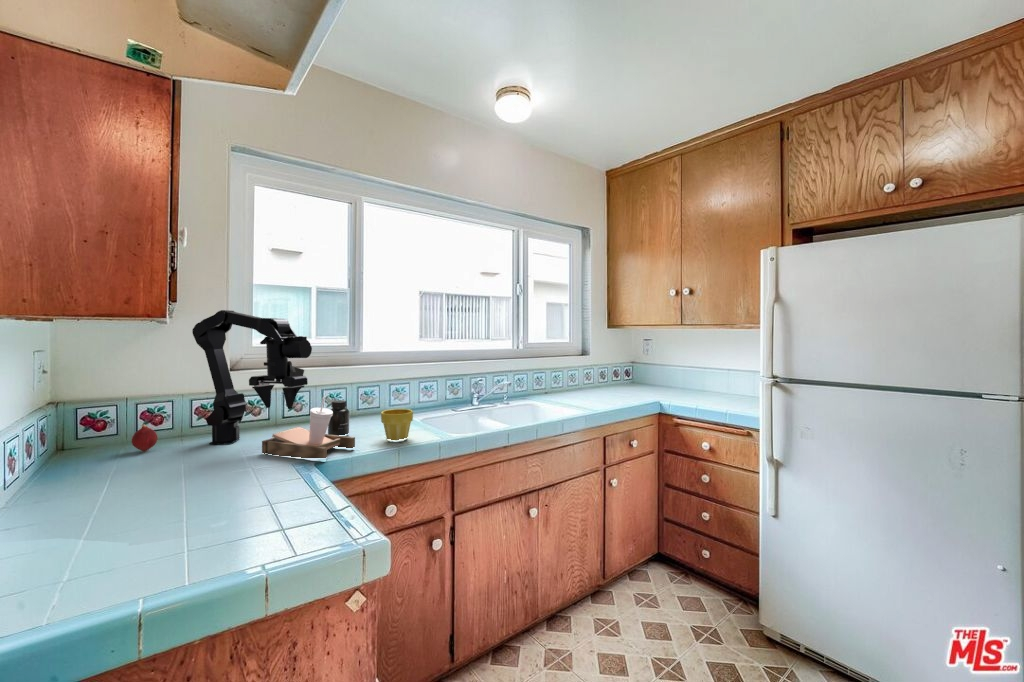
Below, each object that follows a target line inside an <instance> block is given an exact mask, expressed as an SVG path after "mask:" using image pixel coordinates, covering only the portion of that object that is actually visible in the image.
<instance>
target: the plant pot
mask: <svg viewBox="0 0 1024 682" xmlns="http://www.w3.org/2000/svg"><path fill="white" fill-rule="evenodd" d="M413 418H414V412H413V410H412V409H408V408H393V409H392V408H391V409H386V410H383V411H381V412H380V419H381V420H380V422H381V423H382V425H383V427H384V432H385V436H386V437H385V438H386V440H387V439H391V440H399V439H404V438H407V437H409V434H410V428H411V423H412V421H414V419H413Z"/></svg>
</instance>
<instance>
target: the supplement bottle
mask: <svg viewBox="0 0 1024 682" xmlns="http://www.w3.org/2000/svg"><path fill="white" fill-rule="evenodd" d="M330 410H332V411H333V416H331V418H330V421H329V424H328V427H327V434H329V435H345V434H348V433H349V434H350V410H349V409H348V408H347V400H332V401H331V409H330Z"/></svg>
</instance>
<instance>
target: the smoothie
mask: <svg viewBox="0 0 1024 682" xmlns="http://www.w3.org/2000/svg"><path fill="white" fill-rule="evenodd" d="M325 400H326V399H325V396H323V397H322V399H321V403H320V407H312V408H310V410H309V414H310V415H309V416H310V417H309V431H310V433H309V442H310V443H311V444H321V443H322V442H323V439H324V436H325V434H327V431H328V424H329V421H330V418H331V416H333V411H332V410H331V409H330V408H327V407H324V402H325Z"/></svg>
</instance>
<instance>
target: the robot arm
mask: <svg viewBox="0 0 1024 682" xmlns="http://www.w3.org/2000/svg"><path fill="white" fill-rule="evenodd" d="M232 326H238V327H243V328H246V329H251V330H255V331H256V332H257V333H259V334H261V335H263V336H265V337H264V338H263V339H262V340H261V341H260V342H259V344H260V345H265V346H266V361H265V362H263V366H264V367H265V366H266V371H267V373H266V374H267V375H266V374H263V375H262V374H261V375H254V376H250V378H248V386H249V387H250V386H251V388H252V389H254V391H255V392H256V394H257V395H258V397H259V398H260V400H261V401H262V403H263V404H264V406H265V408H266V409H269V408H271V402H272V391H273V389H274V387H275V385H277V384H278V385H279V384H280V385H283V386H284V387H282V392H283V396H284V401H285V403H286V407H287V409H288V410H291V409H293V406H294V403H295V400H296V398H297V395H298V392H299V391H300V390H301V389H302V388H305V386H306V385H308V377H307V376H306V375H304V374H305V369H304V368H300V367H297V366H293V364H292V361H291V360H289V359H307V358H309V357H310V356H311V354H312V351H313V347H312V345H311V342H310V341H309V340H308V338H307V335H301V336H298V335H297V333H295V331H294V329H293V328H292V327H291V325H290V323H289V321H288V319H286V318H275V317H270V318H269V317H259V316H254V315H251V314H245V313H241V312H236V311H235V310H227V309H226V310H225V309H222V310H218V311H217V312H215V314H213V315H210V316H208V317H206V318H204V319H202V320H200V322H198V323H196V324H195V325H194V327H193V328H192V331H191V332H192V336H193V338H194V340H195V342H196V344H197V345H198V346H199V347H200V348H201V349H202V350H203V351H204V353H205V357H206V360H207V365H208V368H209V373H210V376H211V380H212V383H213V386H214V391H215V396H214V400H213V401H212V407H213V410H212V411H211V412H210V414H209V415H208V416H207V417H206V418H205V420H206V421H205V422H206V425H207V426H211V442H209V445H225V444H224V443H232V444H234V443H235V442H237V441H239V440H240V439H241V437H240V425H239V424H238V422H241V421H242V420H243V417H244V414H245V412H246V411H247V405H248V404H247V401H246V398H245V394H244V392H241V393H239V392H237V391H236V390H235V387H234V383H233V380H232V379H233V378H232V377H231V376H232V375H231V373H230V369H229V365H228V362H227V358H226V355H225V350H224V345H225V343H226V339H227V337H226V336H227V335H226V334H227V333H229V331H230V330H231V329H232ZM239 438H240V439H239ZM238 439H239V440H238ZM236 440H237V441H236ZM233 442H234V443H233Z"/></svg>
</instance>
